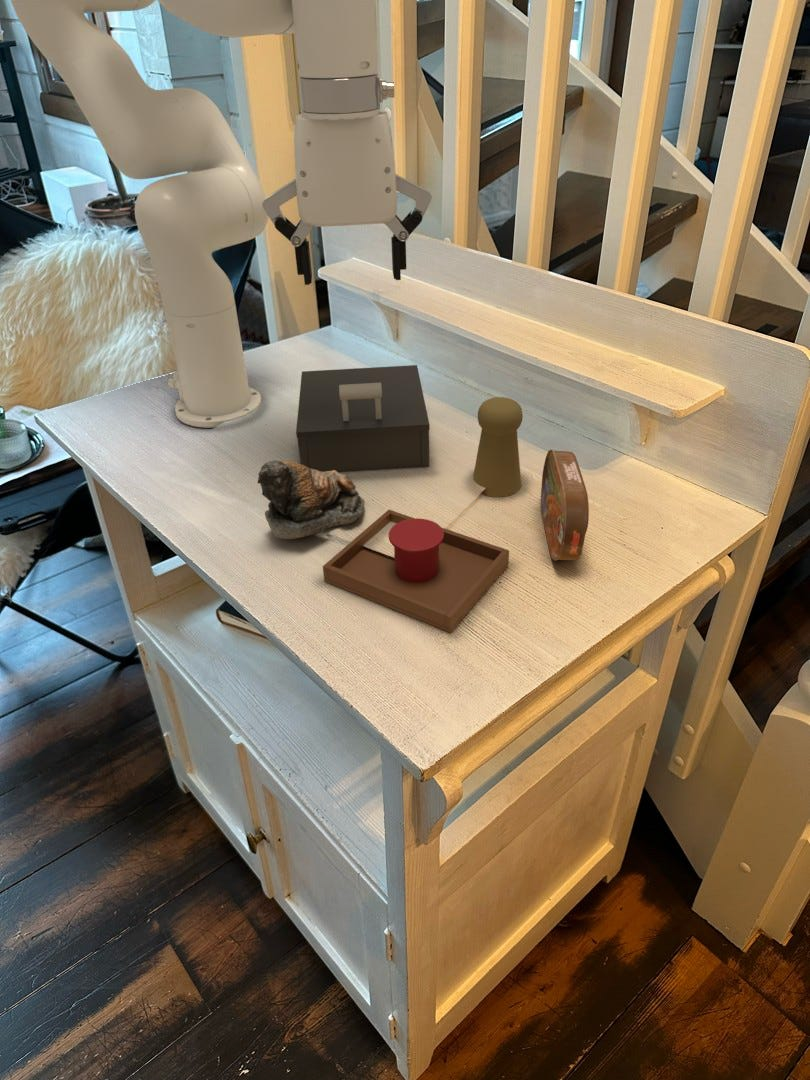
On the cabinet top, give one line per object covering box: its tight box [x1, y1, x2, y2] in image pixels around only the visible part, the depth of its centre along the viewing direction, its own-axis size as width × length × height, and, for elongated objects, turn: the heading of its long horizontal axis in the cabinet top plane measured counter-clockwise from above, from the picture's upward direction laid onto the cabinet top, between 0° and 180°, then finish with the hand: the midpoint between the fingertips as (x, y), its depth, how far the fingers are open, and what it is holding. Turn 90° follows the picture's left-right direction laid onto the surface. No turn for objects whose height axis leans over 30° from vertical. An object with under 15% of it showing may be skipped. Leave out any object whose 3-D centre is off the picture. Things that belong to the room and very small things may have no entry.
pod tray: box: [322, 509, 510, 634], centre depth 79 cm, size 15×12×2 cm
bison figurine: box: [257, 460, 366, 540], centre depth 84 cm, size 12×7×10 cm, turn 124°
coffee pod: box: [388, 517, 444, 582], centre depth 78 cm, size 6×6×4 cm
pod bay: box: [297, 430, 430, 473], centre depth 100 cm, size 17×16×6 cm
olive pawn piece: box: [472, 396, 524, 498], centre depth 90 cm, size 6×6×11 cm
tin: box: [540, 449, 590, 561], centre depth 82 cm, size 15×3×8 cm, turn 178°
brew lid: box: [295, 364, 430, 439], centre depth 97 cm, size 18×16×5 cm
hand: (352, 278), depth 82 cm, fingers open, 9 cm apart
